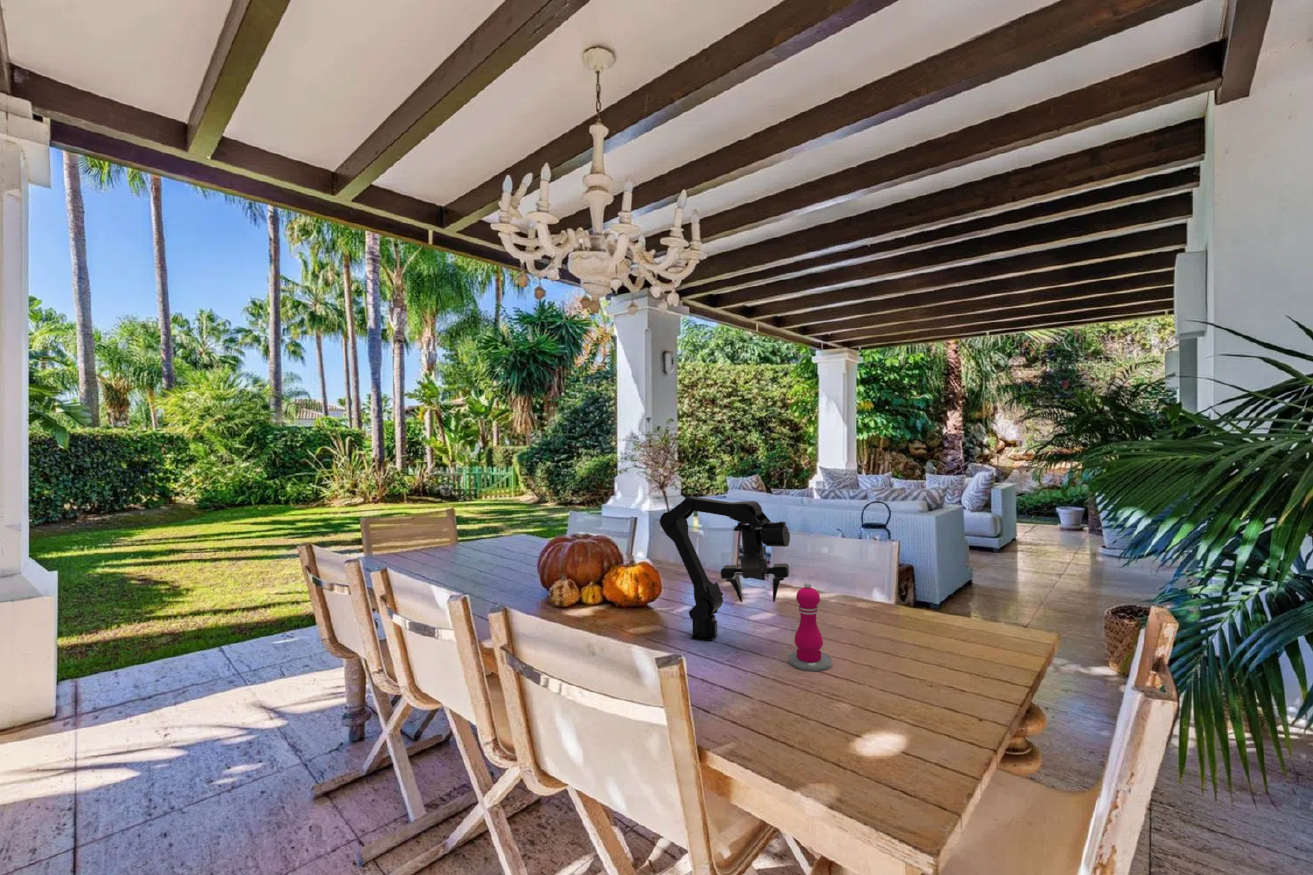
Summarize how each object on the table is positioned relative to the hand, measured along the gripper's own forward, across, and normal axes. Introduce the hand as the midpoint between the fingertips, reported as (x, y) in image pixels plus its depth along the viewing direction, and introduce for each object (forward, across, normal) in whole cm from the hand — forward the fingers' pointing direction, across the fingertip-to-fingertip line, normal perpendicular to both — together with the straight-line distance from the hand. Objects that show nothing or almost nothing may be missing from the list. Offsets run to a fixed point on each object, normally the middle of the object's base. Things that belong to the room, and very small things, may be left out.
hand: (757, 601), depth 164 cm
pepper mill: (+13, +13, -8) cm, 20 cm away
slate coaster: (+14, +13, -8) cm, 21 cm away
